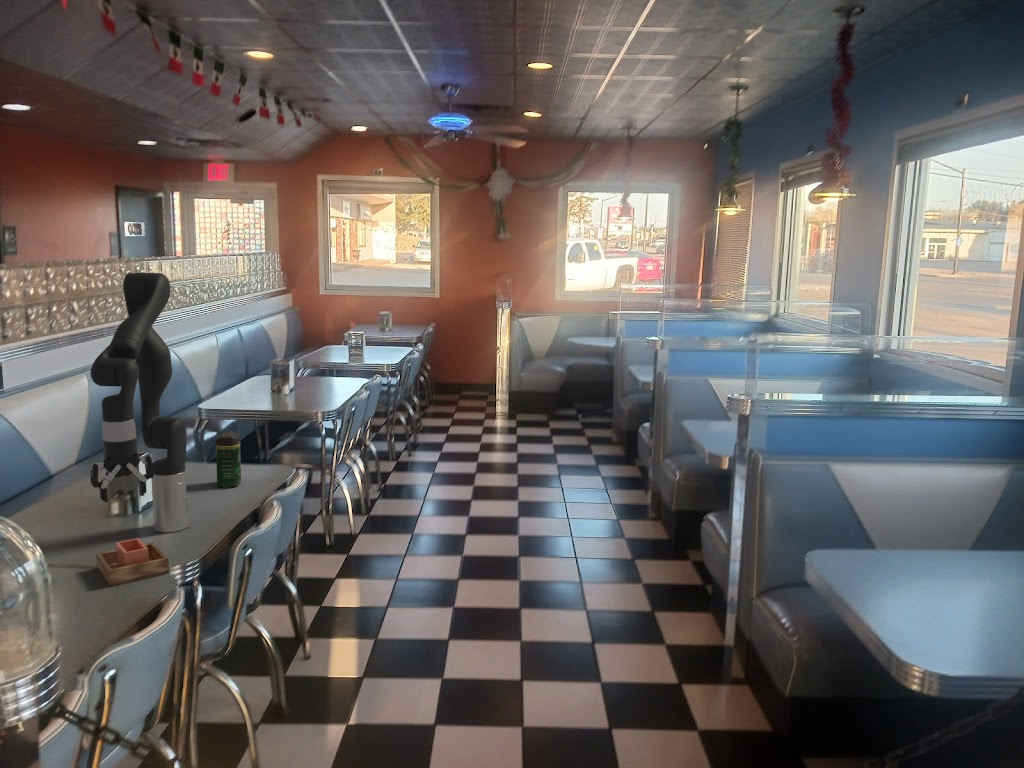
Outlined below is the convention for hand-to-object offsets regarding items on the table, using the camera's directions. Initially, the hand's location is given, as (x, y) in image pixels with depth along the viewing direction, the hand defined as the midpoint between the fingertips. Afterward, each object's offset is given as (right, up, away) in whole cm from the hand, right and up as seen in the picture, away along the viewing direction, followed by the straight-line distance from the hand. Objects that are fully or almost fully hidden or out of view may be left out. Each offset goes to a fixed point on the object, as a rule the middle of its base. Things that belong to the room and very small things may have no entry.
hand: (124, 498), depth 198 cm
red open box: (+2, -18, +1) cm, 18 cm away
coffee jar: (0, -6, +76) cm, 76 cm away
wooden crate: (+2, -19, +1) cm, 19 cm away
